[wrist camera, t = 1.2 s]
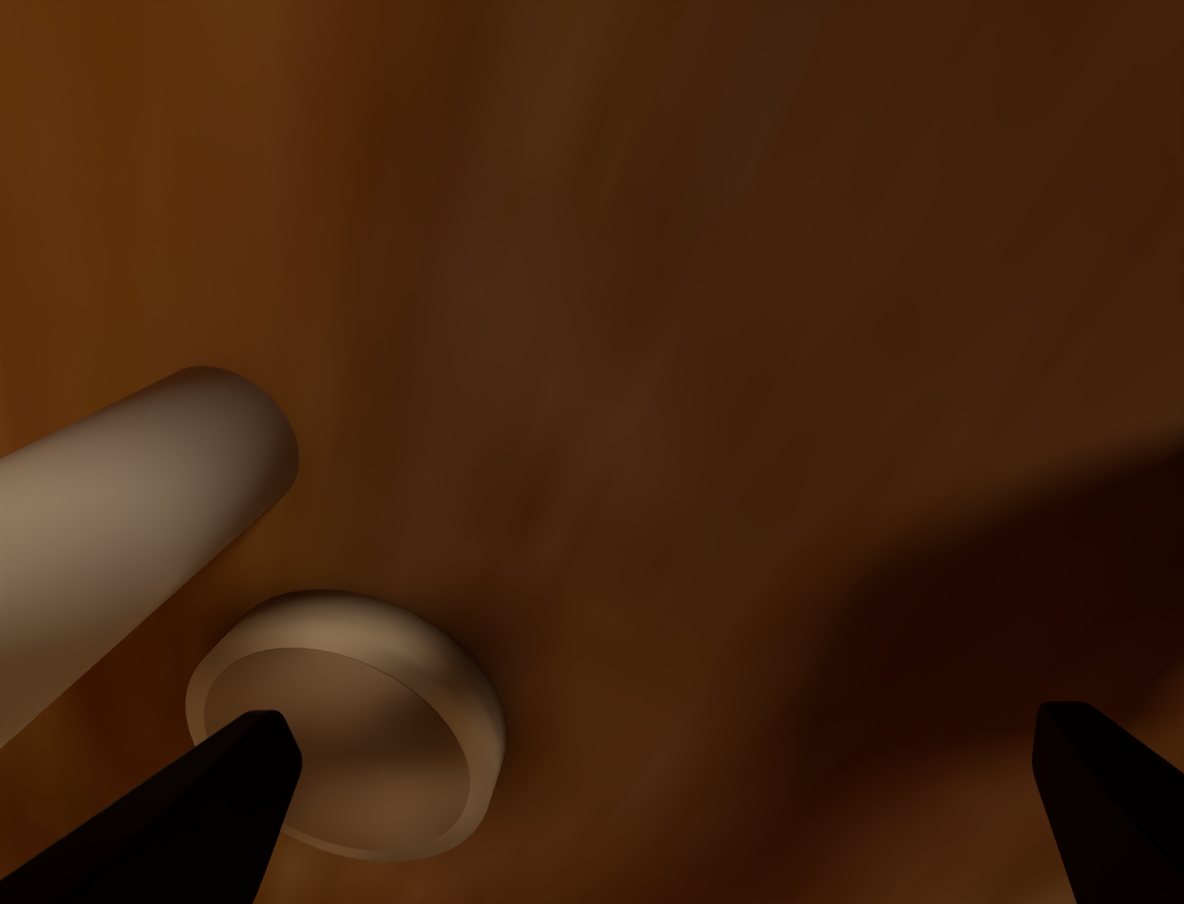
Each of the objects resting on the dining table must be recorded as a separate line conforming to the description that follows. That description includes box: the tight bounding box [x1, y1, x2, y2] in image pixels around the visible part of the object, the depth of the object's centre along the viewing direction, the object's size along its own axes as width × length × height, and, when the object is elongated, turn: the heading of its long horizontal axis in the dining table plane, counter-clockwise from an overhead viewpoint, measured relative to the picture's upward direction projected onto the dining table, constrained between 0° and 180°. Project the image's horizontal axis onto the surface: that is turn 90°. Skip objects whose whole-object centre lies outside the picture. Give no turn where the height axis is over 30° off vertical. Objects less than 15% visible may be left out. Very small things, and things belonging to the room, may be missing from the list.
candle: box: [0, 366, 299, 749], centre depth 17 cm, size 5×5×14 cm
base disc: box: [185, 590, 507, 862], centre depth 27 cm, size 12×12×2 cm
